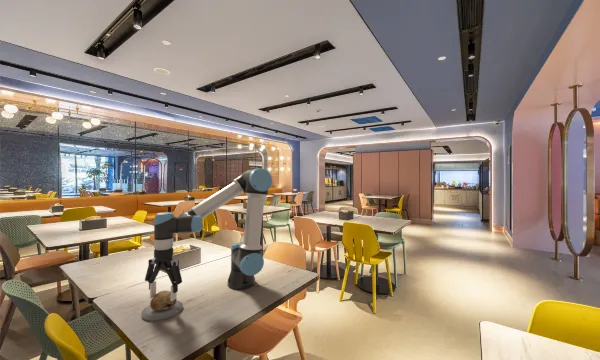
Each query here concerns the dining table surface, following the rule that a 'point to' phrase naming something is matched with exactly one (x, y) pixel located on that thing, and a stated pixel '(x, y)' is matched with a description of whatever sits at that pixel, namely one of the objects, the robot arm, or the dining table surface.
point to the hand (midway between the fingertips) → (163, 298)
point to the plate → (161, 312)
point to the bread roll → (162, 301)
